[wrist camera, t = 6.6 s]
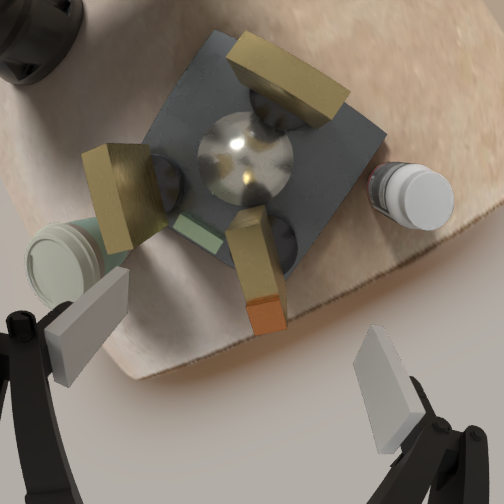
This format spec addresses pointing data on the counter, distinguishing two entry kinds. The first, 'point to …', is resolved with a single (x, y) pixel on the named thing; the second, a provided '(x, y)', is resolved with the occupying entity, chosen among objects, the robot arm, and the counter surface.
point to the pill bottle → (411, 195)
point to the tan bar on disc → (263, 264)
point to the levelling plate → (252, 156)
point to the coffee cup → (68, 261)
